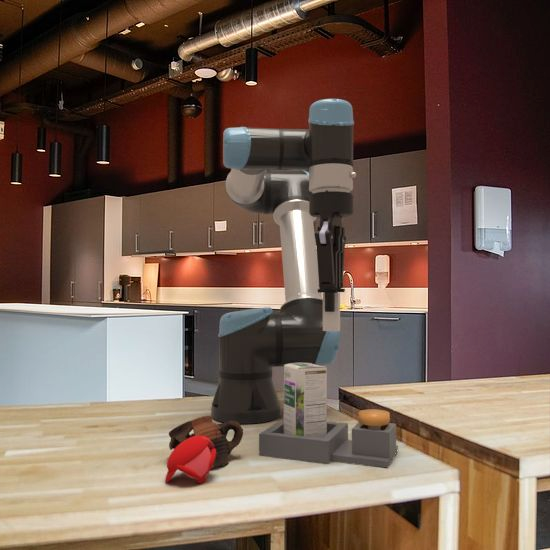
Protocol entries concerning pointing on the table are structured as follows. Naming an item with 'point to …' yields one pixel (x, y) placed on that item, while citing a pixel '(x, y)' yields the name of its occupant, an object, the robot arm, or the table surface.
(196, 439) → the cap
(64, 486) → the table surface
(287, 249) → the robot arm
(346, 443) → the grey rectangular open-box piece
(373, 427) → the plunger
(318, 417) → the syrup box
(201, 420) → the pottery mug
